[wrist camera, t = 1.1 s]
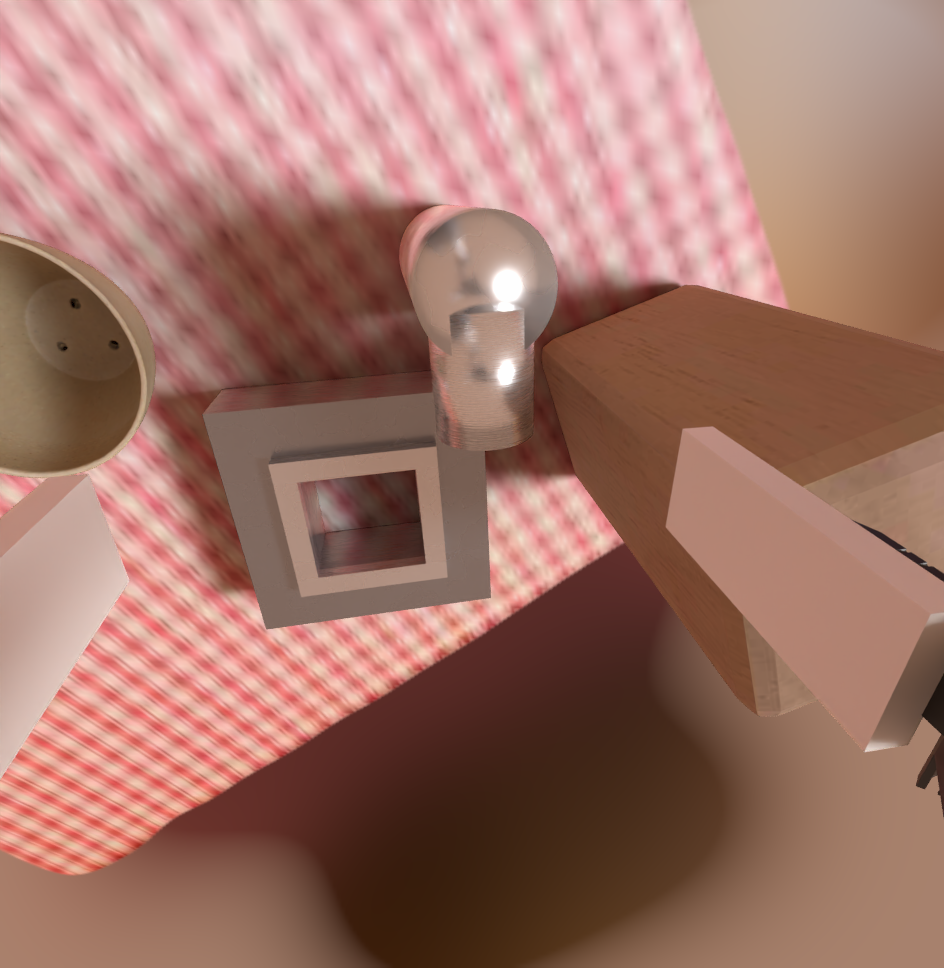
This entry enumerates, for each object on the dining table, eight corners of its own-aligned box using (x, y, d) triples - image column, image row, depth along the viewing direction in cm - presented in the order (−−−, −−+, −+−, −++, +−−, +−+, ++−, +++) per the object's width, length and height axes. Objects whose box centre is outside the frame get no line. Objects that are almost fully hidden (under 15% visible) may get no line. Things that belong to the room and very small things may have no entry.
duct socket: (222, 389, 30) (197, 420, 26) (470, 366, 32) (484, 392, 28) (276, 588, 37) (263, 638, 33) (480, 561, 38) (493, 605, 34)
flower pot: (183, 439, 31) (135, 500, 25) (-23, 393, 29) (-136, 448, 22) (206, 262, 27) (155, 281, 21) (-32, 188, 25) (-172, 184, 18)
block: (574, 480, 37) (756, 738, 19) (532, 341, 32) (722, 516, 14) (714, 424, 36) (1029, 634, 19) (693, 276, 32) (1088, 372, 14)
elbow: (393, 207, 28) (405, 213, 17) (491, 202, 28) (564, 204, 17) (410, 367, 31) (428, 457, 20) (495, 359, 32) (557, 443, 21)
